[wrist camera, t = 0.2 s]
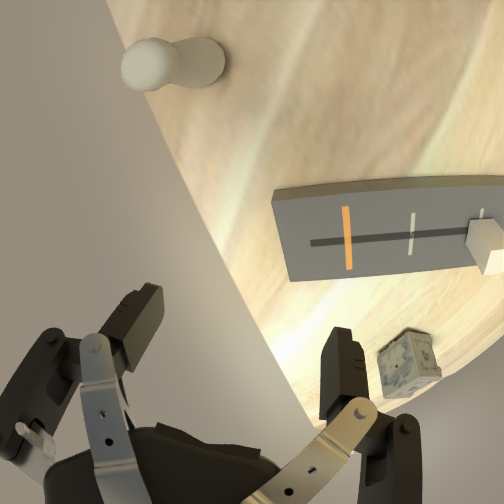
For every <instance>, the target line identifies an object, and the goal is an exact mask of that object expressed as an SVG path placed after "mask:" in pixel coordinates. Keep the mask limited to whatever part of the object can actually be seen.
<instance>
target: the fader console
mask: <svg viewBox="0 0 504 504" xmlns="http://www.w3.org/2000/svg"><path fill="white" fill-rule="evenodd" d="M271 204H272V208H273V212H274V216H275V220H276V224H277V228H278V232H279V237H280V241H281V245H282V249H283V254H284V258H285V262H286V267H287V271H288V275H289V280H290V282H298V281H314V280H329V279H343V278H356V277H368V276H380V275H391V274H402V273H412V272H422V271H432V270H441V269H450V268H458V267H467V266H475V265H477V263H476V261H475V260H474V258H473V256H472V254H471V253H470V251H469V249H468V247H467V246H466V244H465V243H466V239H467V234H468V228H469V223H470V220H478V219H494V220H495V221H496V222H497V223H498V225H499V226H500V227H501V229H502V230H503V231H504V176H433V177H410V178H393V179H378V180H366V181H354V182H343V183H333V184H323V185H314V186H306V187H297V188H289V189H282V190H275V191H274V194H273V197H272V200H271Z"/></svg>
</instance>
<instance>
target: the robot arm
mask: <svg viewBox="0 0 504 504" xmlns="http://www.w3.org/2000/svg"><path fill="white" fill-rule="evenodd" d="M163 316H164V300H163V289H162V287H161V286H158V285H154V284H151V283H145V284H144V286H143V287H142V288H141V290H140V291H137V290H134V291H132V292H131V293H129V294H127V295H126V296H125V297H124V298H123V300H122V301H121V302H120V304H119V305H118V306H117V308H116V310H114V312H113V313H112V314H111V315H110V317H109V318H108V320H107V321H106V322H105V324H104V325H103V326H102V328H101V329H100V330H99V332H98V333H92V334H89V335H87V336H85V337H84V338H83V339H75V338H68V337H65V335H64V333H63V331H62V330H61V329H59V328H49V329H47V330H45V331H44V332H43V333H42V334H41V335H40V337H39V338H38V339H37V341H36V342H35V343H34V345H33V346H32V348H31V349H30V350H29V352H28V353H27V355H26V356H25V358H24V359H23V361H22V362H21V364H20V365H19V367H18V368H17V370H16V372H15V373H14V375H13V376H12V378H11V379H10V381H9V383H8V384H7V386H6V388H5V389H4V391H3V393H2V395H1V396H0V457H1V458H2V459H3V460H5V461H7V462H9V463H10V464H12V465H14V466H15V467H18V468H19V469H20V470H21V471H23V472H24V473H26V474H27V475H28V476H29V477H31V478H32V479H34V480H35V481H36V482H38V483H40V484H41V485H42V486H43V487H44V495H45V504H307V503H308V502H309V501H310V500H311V499H312V498H313V497H314V496H315V495H316V494H317V493H318V492H319V491H320V490H321V489H322V488H323V487H324V486H325V485H326V484H327V483H328V482H329V481H330V480H331V479H332V478H333V477H334V475H335V474H336V473H337V472H338V471H339V470H340V469H341V468H342V467H343V465H344V464H345V463H346V462H347V460H348V459H349V457H350V456H349V454H350V453H351V452H352V451H355V452H358V453H361V454H362V459H361V472H360V484H359V494H358V502H357V504H422V451H421V435H420V426H419V423H418V421H417V419H416V418H415V417H414V416H412V415H410V414H401V415H399V416H397V417H396V418H394V417H391V416H389V415H385V414H383V413H381V412H379V411H377V408H376V406H375V404H374V403H373V402H372V401H371V400H370V399H369V390H368V381H367V372H366V364H365V356H364V350H363V349H362V347H361V345H360V343H359V342H356V341H353V340H352V332H351V329H347V328H341V327H334V328H333V330H332V332H331V334H330V336H329V338H328V340H327V342H326V343H325V345H324V347H323V350H322V354H321V378H320V412H319V419H320V420H327V425H326V427H325V428H324V430H323V431H322V432H321V433H320V434H319V435H318V436H317V437H316V438H315V439H314V440H313V441H312V442H311V443H310V444H309V445H308V446H307V447H305V448H304V449H303V450H302V451H301V452H300V453H299V454H298V455H297V456H296V457H295V458H294V459H292V460H291V461H290V462H289V463H288V464H287V465H286V466H284V467H283V468H282V469H280V468H279V467H278V466H277V465H276V464H275V463H274V462H272V461H271V460H269V459H268V458H266V457H264V456H262V455H260V451H261V449H256V448H250V447H244V446H240V445H234V444H206V443H203V442H202V441H200V440H198V439H196V438H194V437H192V436H191V435H189V434H187V433H186V432H184V431H182V430H179V429H176V428H173V427H170V426H167V425H164V424H161V423H159V422H157V425H156V427H140V428H137V425H136V422H135V420H134V417H133V415H132V412H131V409H130V405H129V401H128V398H127V394H126V390H125V386H124V382H123V378H122V375H123V373H124V371H125V370H127V371H129V372H132V373H133V372H134V370H135V368H136V366H137V365H138V363H139V361H140V359H141V357H142V355H143V354H144V352H145V350H146V348H147V346H148V345H149V343H150V341H151V339H152V337H153V336H154V334H155V332H156V331H157V329H158V327H159V325H160V324H161V322H162V319H163ZM80 382H82V383H83V386H82V387H80V397H81V404H82V410H83V415H84V421H85V426H86V432H87V436H88V440H89V445H90V449H88V450H86V451H84V452H81V453H78V454H76V455H74V456H71V457H69V458H66V459H64V460H61V461H58V462H56V463H55V459H54V455H55V454H56V445H55V441H54V439H53V435H54V433H55V431H56V429H57V426H58V424H59V422H60V420H61V418H62V416H63V414H64V412H65V410H66V408H67V406H68V404H69V402H70V400H71V398H72V396H73V394H74V392H75V390H76V389H77V387H78V385H79V383H80Z"/></svg>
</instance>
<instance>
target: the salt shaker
mask: <svg viewBox="0 0 504 504" xmlns="http://www.w3.org/2000/svg"><path fill="white" fill-rule="evenodd" d="M224 65H225V56H224V52H223V50H222V48H221V47H220V46H219V45H218V44H217V43H216V42H215V41H213V40H210V39H208V38H205V37H196V38H189V39H185V40H181V41H177V42H173V43H169V42H168V41H165V40H162V39H159V38H149V39H144V40H140V41H137V42H135V43H134V44H133V45H131V46H130V47H129V48H128V49H127V50H126V52H125V54H124V55H123V57H122V60H121V65H120V72H121V76H122V80H123V81H124V83H126V85H127V86H128V88H130V89H132V90H135V91H138V92H149V91H156V90H158V89H160V88H161V87H163V86H165V85H166V84H168V83H170V84H174V85H179V86H184V87H188V88H204V87H206V86H207V85H209V84H211V83H213V82H215V81H216V80H217V78H218V77H219V76H220V75H221V74H222V73H223V69H224Z"/></svg>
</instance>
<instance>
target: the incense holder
mask: <svg viewBox="0 0 504 504" xmlns="http://www.w3.org/2000/svg"><path fill="white" fill-rule="evenodd" d="M377 362H378V367H379V372H380V378H381V385H382V390H383V397H384V398H385V399H398V398H409V397H411V396H412V395H413V393H414V392H416V391H417V390H419V389H421V388H423V387H425V386H427V385H428V384H430V383H432V382H434V381H438V380H440V379H441V378H442V374H441V368H440V367H438V366H437V363H436V359H435V355H434V352H433V349H432V339H431V336H430V335H428V334H421V333H415V332H409V331H408V332H406V333H405V334H404V335H402V336H401V337H400V338H399V339H398V340H397V341H391V343H390V345H389V347H388V348H387V349H386V350H384V351H383V352H382V353H380V354H379V355H378V356H377Z"/></svg>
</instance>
